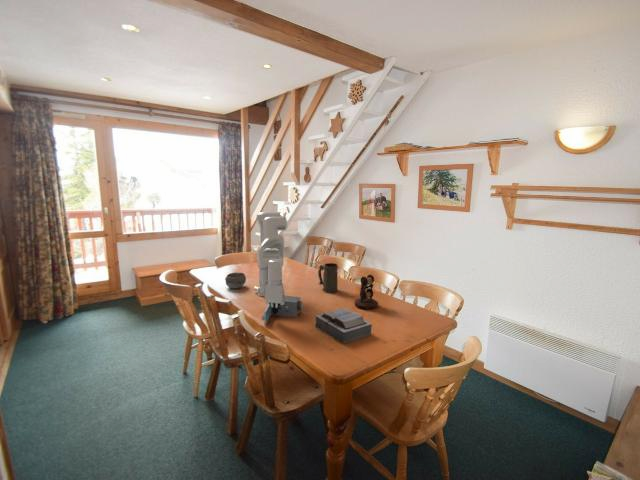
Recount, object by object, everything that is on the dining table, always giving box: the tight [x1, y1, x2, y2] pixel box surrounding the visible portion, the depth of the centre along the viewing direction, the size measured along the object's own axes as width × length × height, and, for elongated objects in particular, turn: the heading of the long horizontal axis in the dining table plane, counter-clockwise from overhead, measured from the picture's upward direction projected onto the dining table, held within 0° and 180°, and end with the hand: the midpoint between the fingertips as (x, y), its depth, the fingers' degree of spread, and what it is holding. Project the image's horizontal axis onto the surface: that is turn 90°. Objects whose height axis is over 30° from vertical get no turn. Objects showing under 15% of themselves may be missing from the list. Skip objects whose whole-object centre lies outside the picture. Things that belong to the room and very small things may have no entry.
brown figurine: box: [354, 274, 379, 310], centre depth 200 cm, size 15×15×20 cm
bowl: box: [224, 271, 247, 290], centre depth 230 cm, size 14×15×10 cm
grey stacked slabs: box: [314, 307, 373, 345], centre depth 166 cm, size 23×27×10 cm
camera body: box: [270, 295, 304, 318], centre depth 186 cm, size 18×9×10 cm, turn 80°
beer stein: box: [317, 262, 339, 294], centre depth 228 cm, size 15×11×20 cm
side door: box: [261, 304, 272, 325], centre depth 176 cm, size 14×2×7 cm, turn 178°
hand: (275, 313), depth 175 cm, fingers closed
